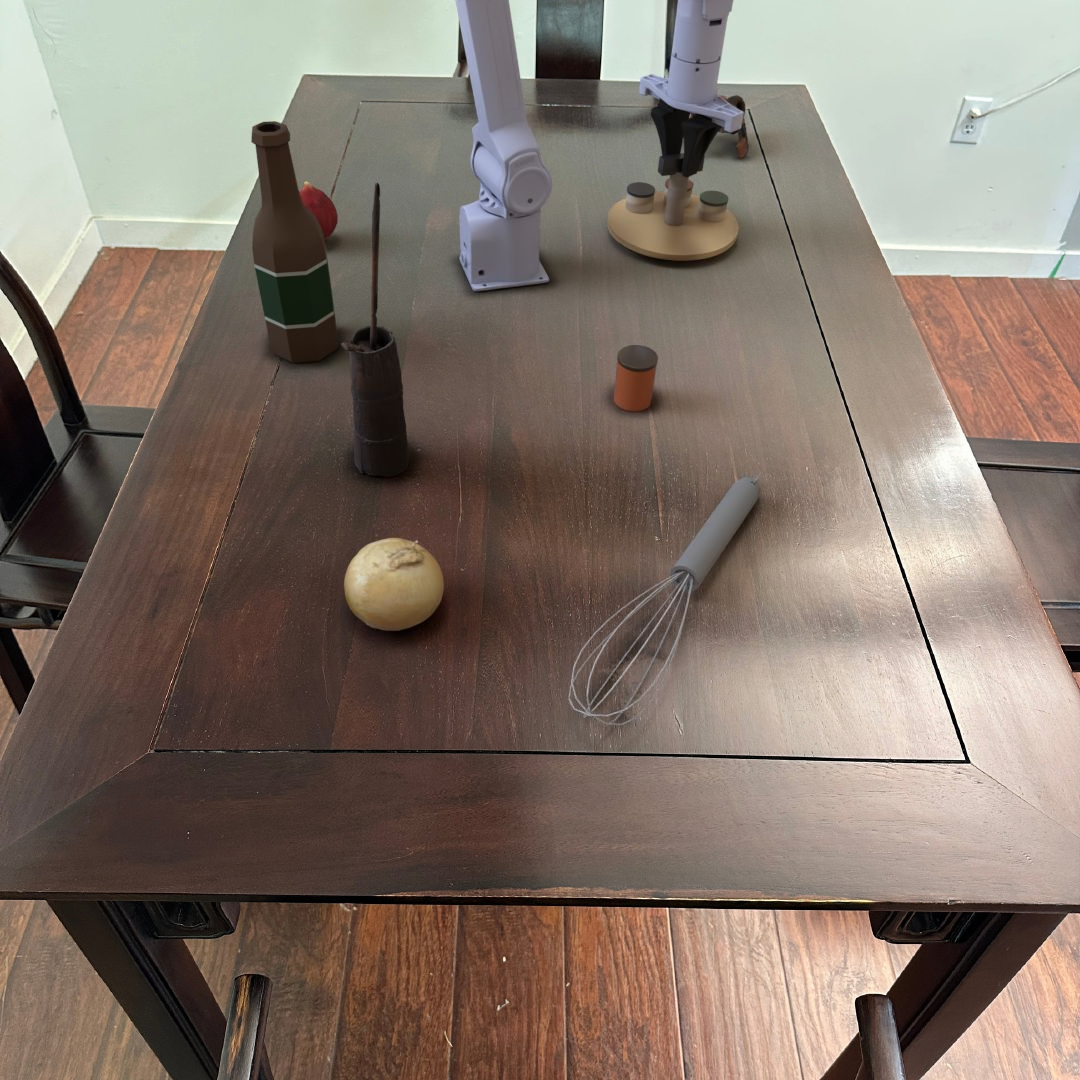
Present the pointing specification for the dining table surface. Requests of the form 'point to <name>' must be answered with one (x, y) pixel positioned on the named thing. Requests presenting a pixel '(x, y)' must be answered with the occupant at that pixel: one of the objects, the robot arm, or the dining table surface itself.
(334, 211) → the onion
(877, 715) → the dining table surface
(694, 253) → the spice carousel
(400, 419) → the butter churn
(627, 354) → the spice jar
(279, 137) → the beer bottle
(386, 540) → the onion
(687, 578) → the kitchen whisk
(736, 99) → the brown curled loops
